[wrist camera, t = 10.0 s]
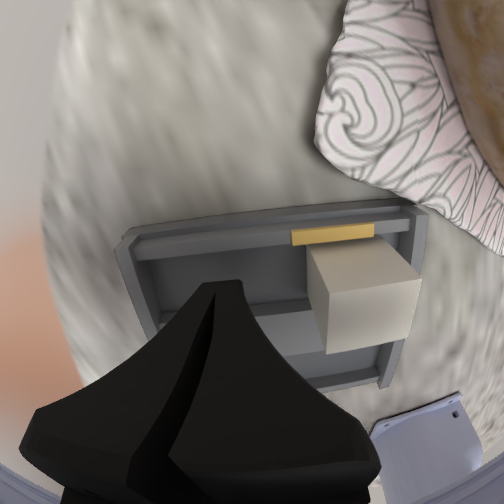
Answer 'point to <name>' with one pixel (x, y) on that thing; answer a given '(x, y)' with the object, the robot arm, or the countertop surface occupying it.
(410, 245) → the tray
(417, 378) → the countertop surface
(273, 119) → the countertop surface
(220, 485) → the robot arm
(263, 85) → the countertop surface
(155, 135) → the countertop surface
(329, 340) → the tab
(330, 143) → the cookie jar
